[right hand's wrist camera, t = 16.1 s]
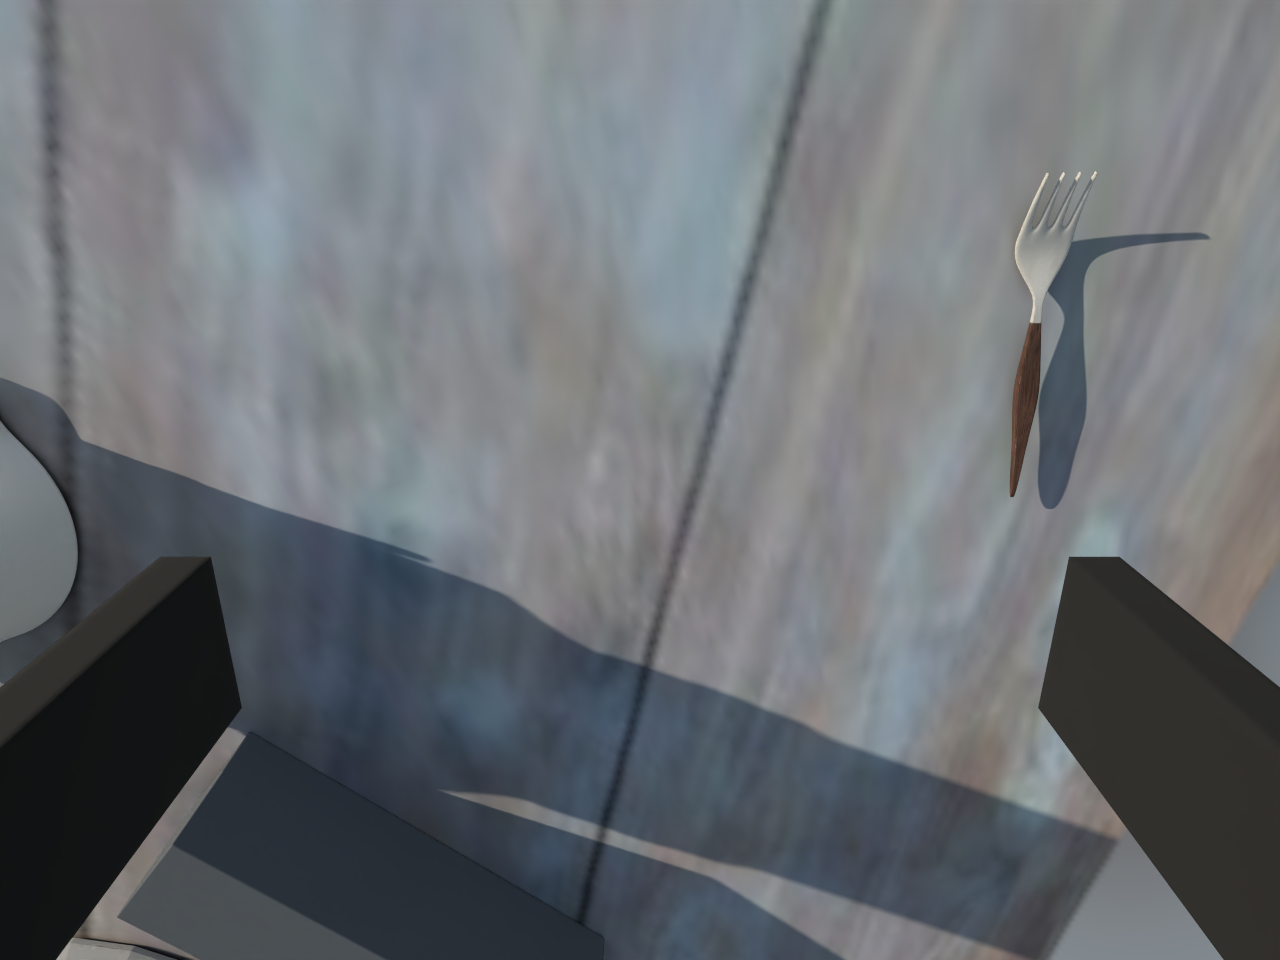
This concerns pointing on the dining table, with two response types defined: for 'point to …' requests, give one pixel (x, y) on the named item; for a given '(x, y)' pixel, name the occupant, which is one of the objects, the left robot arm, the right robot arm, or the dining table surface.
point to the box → (330, 880)
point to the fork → (1038, 305)
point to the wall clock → (106, 951)
